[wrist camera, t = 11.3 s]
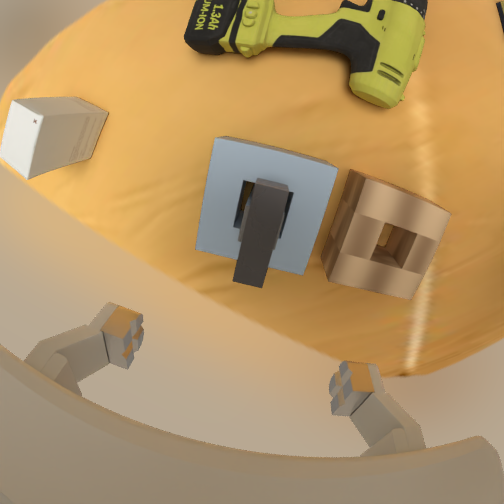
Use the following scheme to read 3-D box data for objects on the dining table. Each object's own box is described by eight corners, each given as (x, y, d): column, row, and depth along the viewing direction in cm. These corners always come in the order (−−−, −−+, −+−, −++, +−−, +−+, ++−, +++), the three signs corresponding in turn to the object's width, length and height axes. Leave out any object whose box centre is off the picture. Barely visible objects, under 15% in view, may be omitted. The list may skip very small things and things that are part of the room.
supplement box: (77, 95, 27) (12, 96, 16) (110, 112, 28) (43, 116, 17) (59, 140, 30) (-3, 156, 19) (90, 160, 31) (26, 181, 20)
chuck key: (260, 160, 30) (249, 182, 18) (287, 167, 30) (294, 193, 18) (245, 223, 34) (227, 280, 22) (270, 229, 34) (266, 289, 22)
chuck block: (327, 161, 30) (338, 168, 24) (299, 251, 35) (302, 275, 29) (226, 136, 29) (215, 137, 24) (207, 229, 34) (195, 249, 29)
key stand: (427, 199, 30) (451, 213, 24) (395, 276, 35) (411, 300, 30) (350, 168, 30) (366, 178, 24) (320, 257, 35) (328, 281, 29)
